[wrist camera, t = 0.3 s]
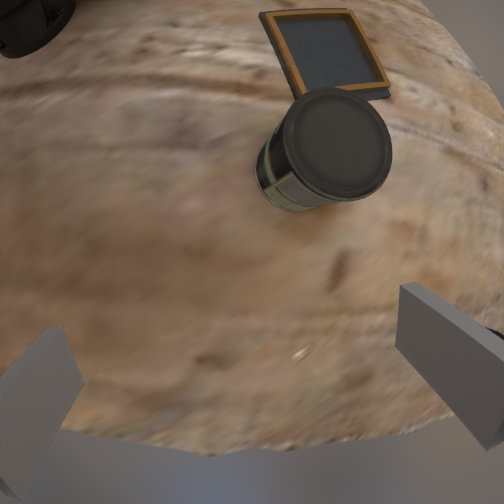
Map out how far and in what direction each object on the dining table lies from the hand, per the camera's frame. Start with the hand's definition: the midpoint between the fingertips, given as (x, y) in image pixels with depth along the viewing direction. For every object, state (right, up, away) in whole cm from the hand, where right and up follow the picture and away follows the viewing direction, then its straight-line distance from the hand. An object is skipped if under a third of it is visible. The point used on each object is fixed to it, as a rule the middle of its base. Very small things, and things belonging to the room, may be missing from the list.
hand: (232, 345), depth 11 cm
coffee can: (+6, +13, +28) cm, 31 cm away
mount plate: (+11, +32, +27) cm, 44 cm away
